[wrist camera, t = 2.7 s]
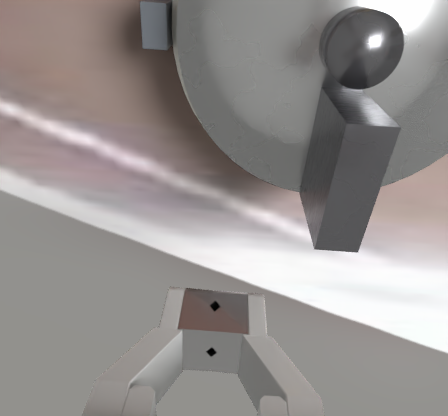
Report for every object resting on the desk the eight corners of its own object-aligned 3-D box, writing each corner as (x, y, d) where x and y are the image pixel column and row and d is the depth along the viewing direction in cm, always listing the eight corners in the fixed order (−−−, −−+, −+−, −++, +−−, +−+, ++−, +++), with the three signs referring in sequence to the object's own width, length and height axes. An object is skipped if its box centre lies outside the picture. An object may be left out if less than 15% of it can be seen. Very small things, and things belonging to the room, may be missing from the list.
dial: (179, -217, 13) (136, -351, 8) (616, -185, 13) (881, -295, 8) (181, 172, 22) (162, 238, 16) (442, 191, 22) (509, 263, 16)
